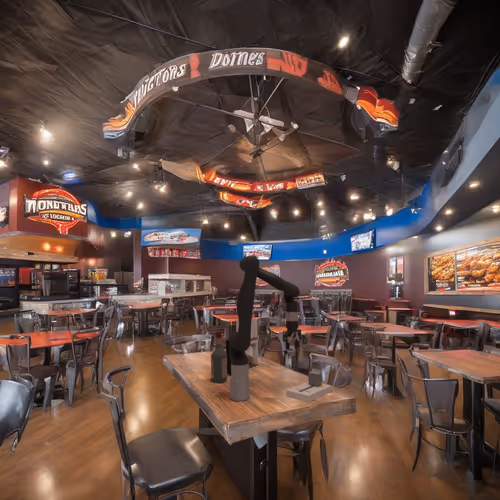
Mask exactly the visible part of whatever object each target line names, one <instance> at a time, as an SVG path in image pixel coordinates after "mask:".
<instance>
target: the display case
mask: <svg viewBox="0 0 500 500" xmlns="http://www.w3.org/2000/svg"><path fill="white" fill-rule="evenodd" d="M235 323H236V332H238V327H239V319H238V318H237V319H236V322H235ZM258 341H259V339H258V318H253V317H252V322H251V343H250V346H249V348H248V349H247V350H246V351H245V354H246V356H247V357H248V360H249V369H250V368H253V367H256V366H258V367H259V348H258V347H259V346H258V344H259V342H258Z"/></svg>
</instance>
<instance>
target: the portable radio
mask: <svg viewBox="0 0 500 500" xmlns="http://www.w3.org/2000/svg"><path fill="white" fill-rule="evenodd" d="M229 339H230V336H228V339H226V340H225V351H226V353H227V374H229V375H228V376H231V359H230V354H229Z"/></svg>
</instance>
